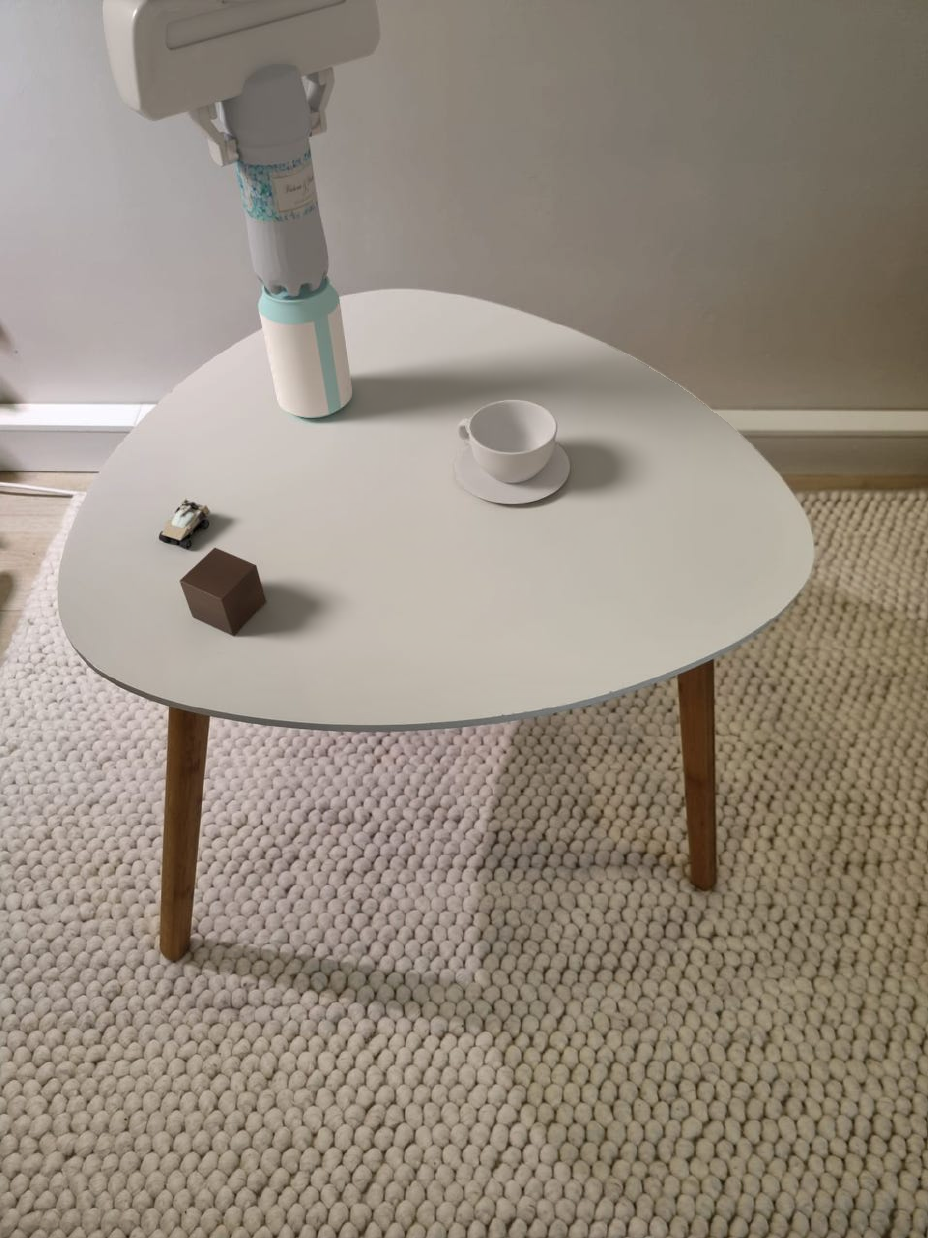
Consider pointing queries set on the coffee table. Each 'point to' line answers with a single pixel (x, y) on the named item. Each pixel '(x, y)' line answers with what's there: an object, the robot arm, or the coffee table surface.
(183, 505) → the toy car
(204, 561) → the walnut block
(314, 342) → the can
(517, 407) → the teacup
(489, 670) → the coffee table surface
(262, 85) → the bottle
